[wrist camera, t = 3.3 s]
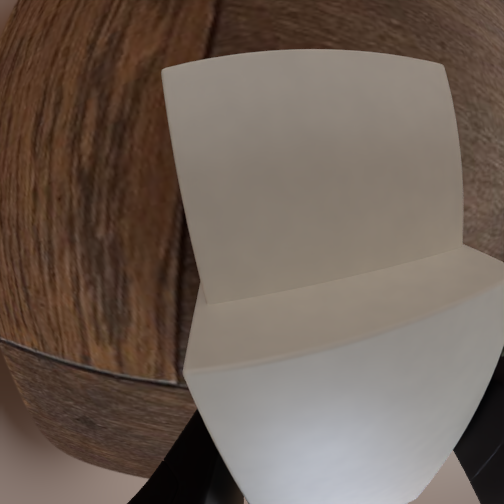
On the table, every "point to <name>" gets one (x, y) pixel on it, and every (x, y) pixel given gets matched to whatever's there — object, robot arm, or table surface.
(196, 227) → the stepped block on base
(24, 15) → the table surface
